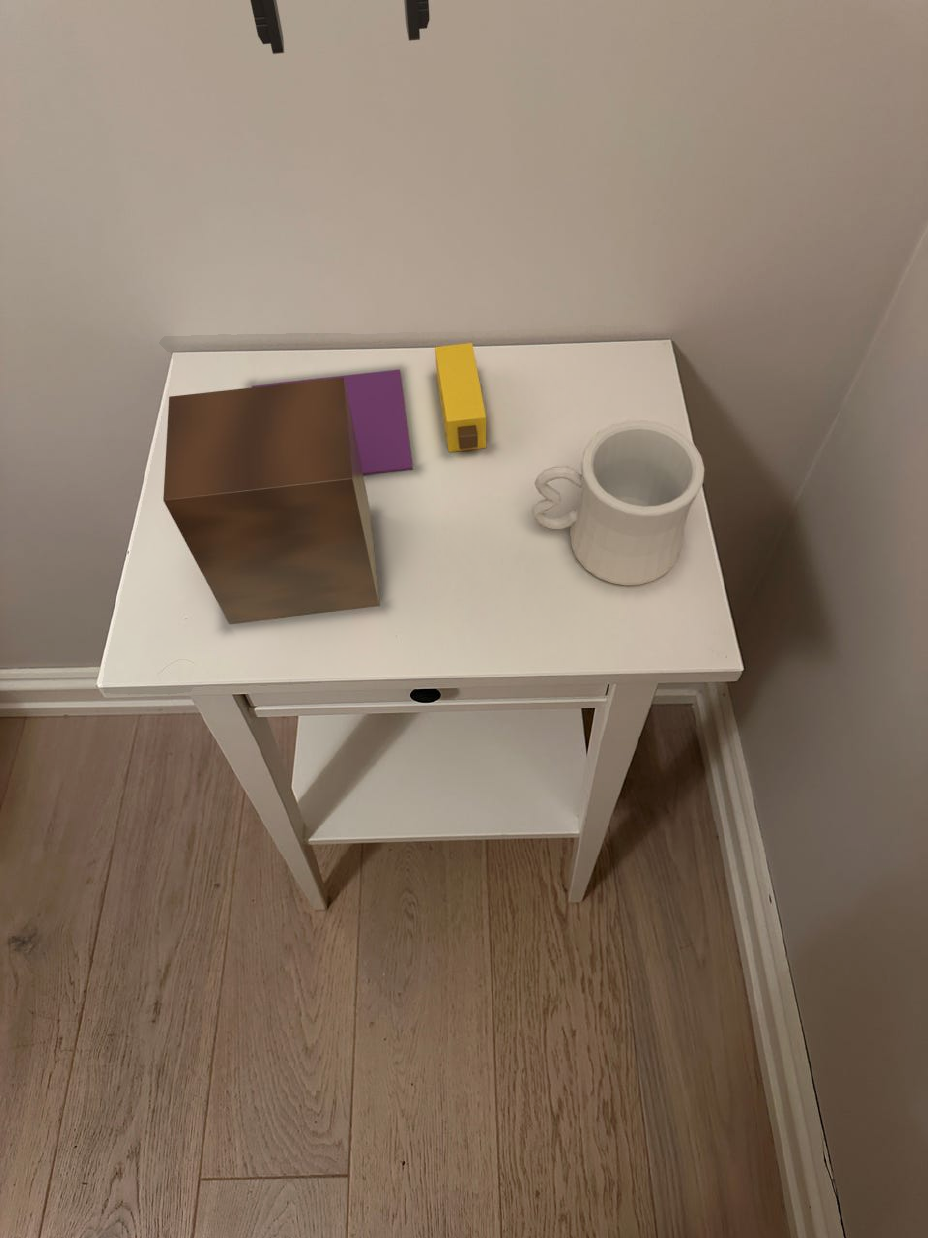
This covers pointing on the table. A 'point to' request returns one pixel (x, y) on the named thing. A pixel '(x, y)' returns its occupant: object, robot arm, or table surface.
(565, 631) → the table surface
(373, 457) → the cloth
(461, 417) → the yellow brick
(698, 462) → the mug
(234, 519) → the block
